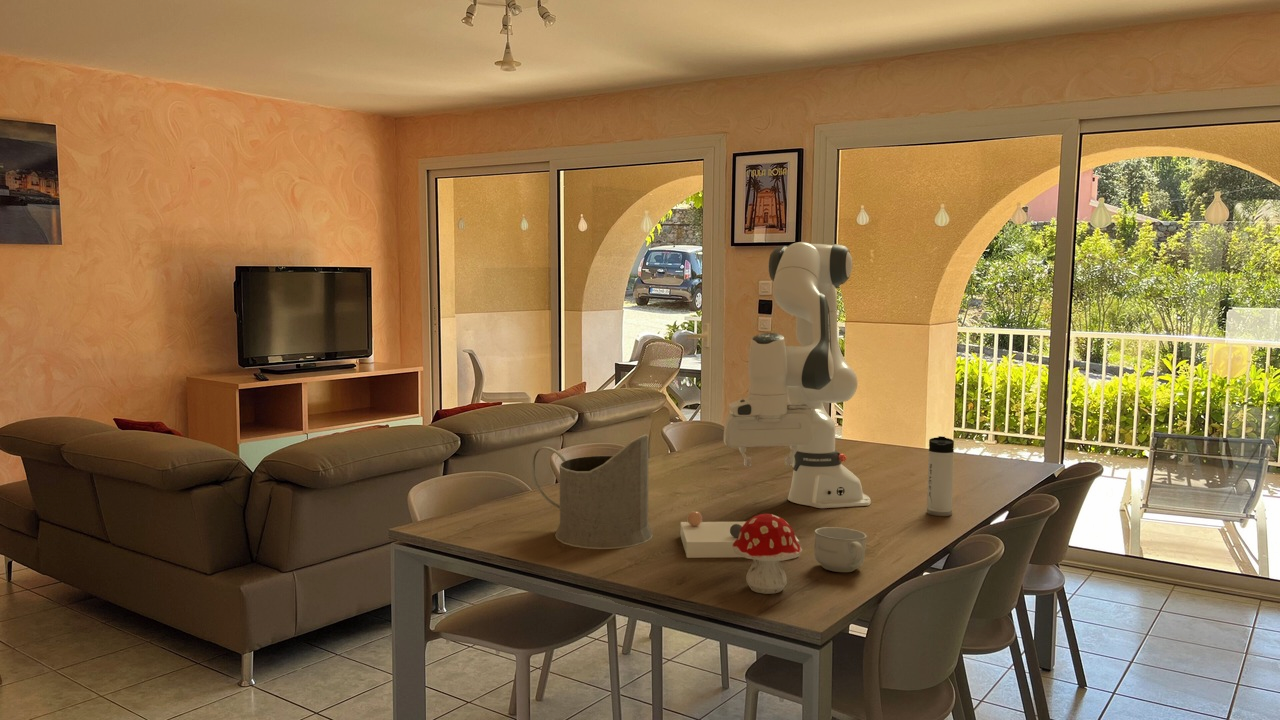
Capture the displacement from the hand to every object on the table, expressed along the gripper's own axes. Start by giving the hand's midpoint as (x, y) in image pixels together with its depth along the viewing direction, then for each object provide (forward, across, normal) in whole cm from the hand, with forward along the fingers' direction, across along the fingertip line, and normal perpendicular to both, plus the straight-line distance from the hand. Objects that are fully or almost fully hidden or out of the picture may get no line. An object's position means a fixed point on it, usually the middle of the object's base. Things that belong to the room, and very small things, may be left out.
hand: (768, 465), depth 210 cm
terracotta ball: (+13, +17, -5) cm, 22 cm away
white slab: (+19, +7, 0) cm, 20 cm away
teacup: (+19, -12, +19) cm, 29 cm away
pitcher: (+18, +42, -12) cm, 47 cm away
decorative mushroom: (+19, +6, +30) cm, 36 cm away
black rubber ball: (+14, +8, +5) cm, 17 cm away
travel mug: (+21, -50, -28) cm, 61 cm away
